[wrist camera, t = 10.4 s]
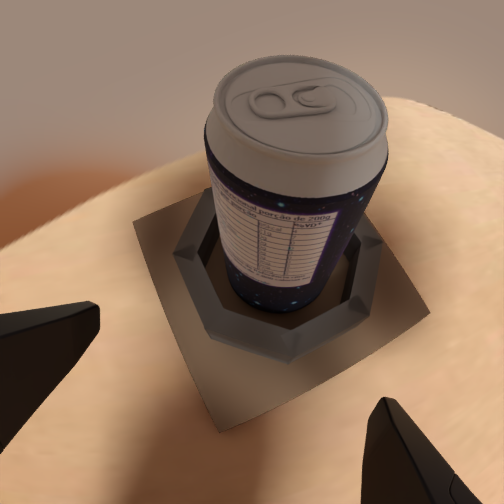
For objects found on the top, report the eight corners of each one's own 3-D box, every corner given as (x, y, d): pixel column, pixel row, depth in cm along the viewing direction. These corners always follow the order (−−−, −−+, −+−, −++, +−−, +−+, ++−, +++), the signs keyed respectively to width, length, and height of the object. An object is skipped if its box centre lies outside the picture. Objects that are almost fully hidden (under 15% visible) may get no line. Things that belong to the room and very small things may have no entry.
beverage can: (337, 304, 18) (438, 158, 7) (239, 328, 17) (218, 191, 7) (307, 220, 20) (348, 47, 10) (218, 238, 20) (189, 60, 9)
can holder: (314, 159, 24) (320, 126, 21) (423, 317, 18) (451, 299, 15) (136, 229, 21) (120, 199, 18) (221, 431, 16) (213, 437, 13)
